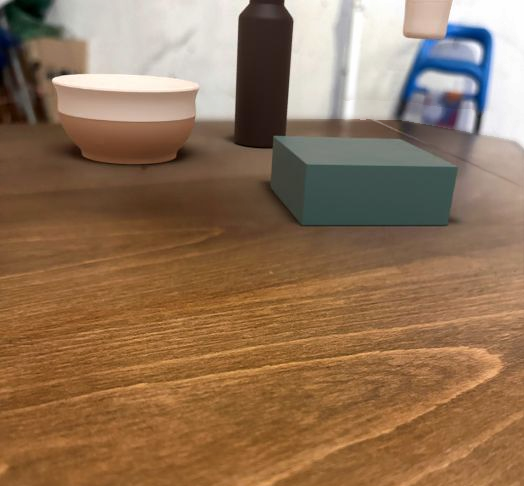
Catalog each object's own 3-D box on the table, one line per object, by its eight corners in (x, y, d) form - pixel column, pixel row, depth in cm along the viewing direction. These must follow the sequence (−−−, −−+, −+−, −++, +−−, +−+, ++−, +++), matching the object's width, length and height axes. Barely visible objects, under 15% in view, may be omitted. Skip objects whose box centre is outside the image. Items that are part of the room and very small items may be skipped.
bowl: (67, 171, 68) (61, 88, 64) (50, 142, 81) (43, 72, 77) (217, 167, 73) (219, 90, 70) (178, 141, 87) (177, 75, 83)
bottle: (226, 144, 86) (231, -34, 77) (244, 137, 92) (251, -29, 83) (276, 150, 85) (287, -31, 76) (291, 142, 90) (303, -27, 81)
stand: (393, 189, 69) (400, 139, 67) (447, 225, 57) (458, 166, 55) (270, 187, 66) (273, 135, 64) (301, 225, 55) (306, 163, 53)
